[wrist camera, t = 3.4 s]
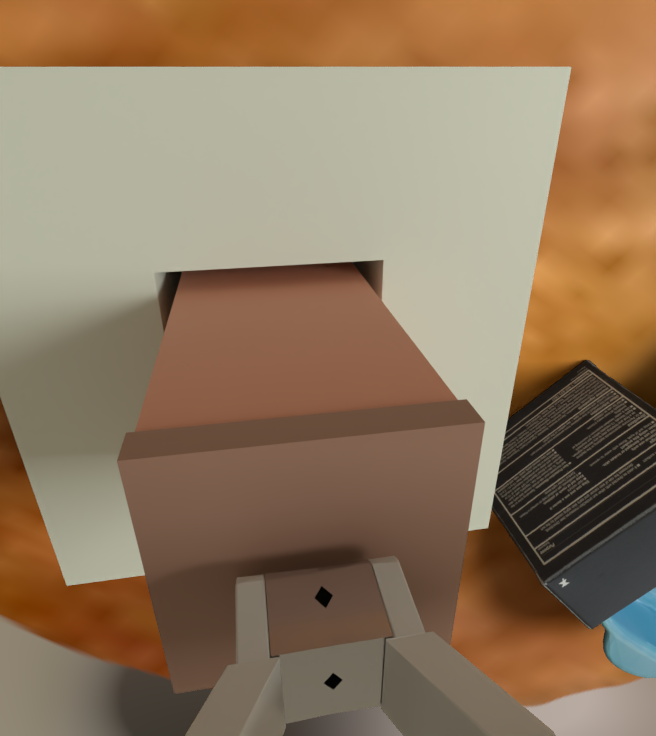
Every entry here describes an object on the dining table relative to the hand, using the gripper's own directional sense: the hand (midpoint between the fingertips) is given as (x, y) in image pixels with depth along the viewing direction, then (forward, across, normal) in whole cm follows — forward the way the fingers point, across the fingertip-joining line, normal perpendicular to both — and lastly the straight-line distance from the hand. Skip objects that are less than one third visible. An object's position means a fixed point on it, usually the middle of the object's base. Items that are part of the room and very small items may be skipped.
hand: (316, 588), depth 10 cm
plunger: (+12, 0, 0) cm, 12 cm away
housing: (+19, 0, 0) cm, 19 cm away
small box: (+20, -18, +12) cm, 29 cm away
